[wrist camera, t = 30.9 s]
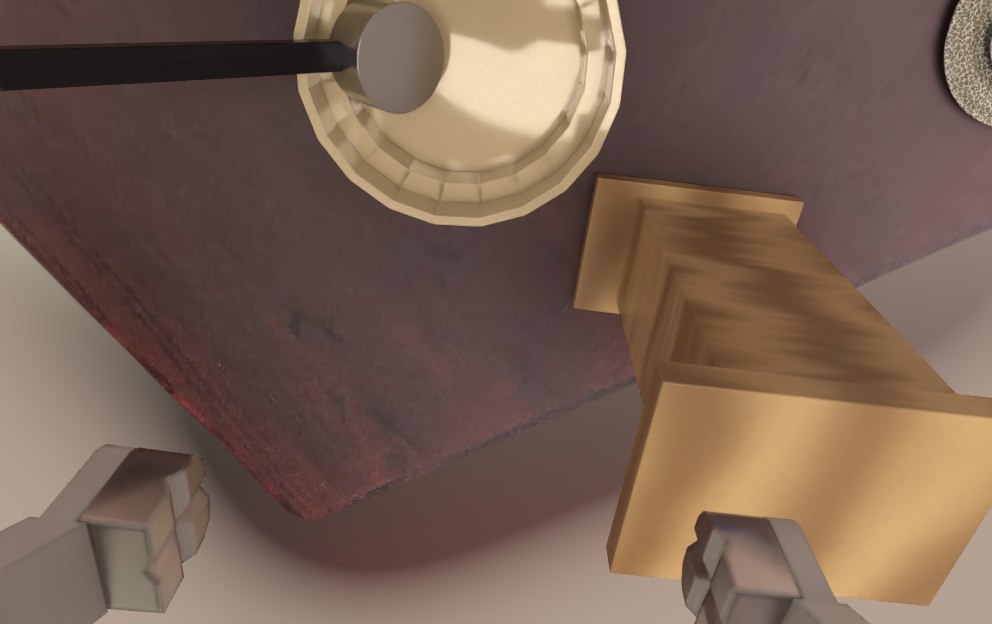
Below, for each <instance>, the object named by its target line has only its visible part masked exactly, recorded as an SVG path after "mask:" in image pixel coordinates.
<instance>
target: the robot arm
mask: <svg viewBox="0 0 992 624" xmlns="http://www.w3.org/2000/svg"><path fill="white" fill-rule="evenodd" d="M205 476H206V470H205V464H204V459H203V458H201V457H200V456H197V455H189V454H182V453H175V452H167V451H160V450H152V449H145V448H132V447H125V446H118V445H110V444H106V445H104V446H102V447H100V448H98V449H97V450H96V451H95V452H94V454H93V455H92V456H91V457H90V458H89V459H88V461H87V462H86V463H85V464H84V465H83V466H82V468H81V469H80V470H79V471H78V472H77V474H76V475H75V476H74V477H73V478H72V479H71V481H70V482H69V483H68V484H67V485H66V487H65V488H64V489H63V490H62V492H61V493H60V494H59V495H58V496H57V497H56V498H55V500H54V501H53V502H52V503H51V504H50V506H49V507H48V508H47V509H46V510H45V512H44V513H43V514H42V515H41V516H40V517H39V518H36V517H28V518H26V519H24V520H22V521H20V522H18V523H16V524H14V525H12V526H10V527H8V528H6V529H4V530H2V531H0V624H93V623H94V622H96V621H97V620H98V619H99V618H101V617H102V616H103V615H104V614H106V613H107V609H116V610H129V611H142V612H156V613H165V611H166V609H167V608H168V605H169V604H170V602H171V600H172V598H173V596H174V595H175V593H176V591H177V589H178V587H179V585H180V583H181V582H182V580H183V578H184V574H183V568H182V563H183V562H184V561H186V560H187V559H189V558H190V557H192V556H194V555H195V554H196V553H197V551H198V549H199V547H200V545H201V543H202V541H203V539H204V537H205V533H206V530H207V526H208V523H209V515H210V502H209V495H208V494H207V493H206V492H205V491H204V489H203V488H202V487H201V486H200V485H201V483H202V481H203V479H204V477H205ZM694 529H695V533H696V537H697V541H695V542H694V543H692V544H691V545H689V546H688V547H687V549H686V553H685V556H684V559H683V564H682V576H681V580H682V591H683V596H684V600H685V604H686V606H687V608H688V609H689V610H690V611H691V612H692V613H693V614H694V615H695V616H696V617H697V618H696V621H695V623H694V624H870V623H869V622H868V621H866V620H865V619H864V618H863V617H862V616H860V615H859V614H858V613H857V612H856V611H854V610H853V609H852V608H851V607H850V606H849V605H847V604H840V603H838V602H837V600H836V598H835V596H834V594H833V592H832V590H831V588H830V586H829V584H828V582H827V579H826V577H825V575H824V573H823V571H822V569H821V567H820V565H819V563H818V561H817V559H816V557H815V555H814V553H813V551H812V549H811V546H810V544H809V542H808V540H807V538H806V536H805V534H804V532H803V530H802V528H801V526H800V524H799V523H798V522H796V521H795V520H794V519H783V518H773V517H760V516H750V515H740V514H730V513H720V512H710V511H702V513H701V514H700V515H699V516H698V518H697V521H696V524H695V526H694Z"/></svg>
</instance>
